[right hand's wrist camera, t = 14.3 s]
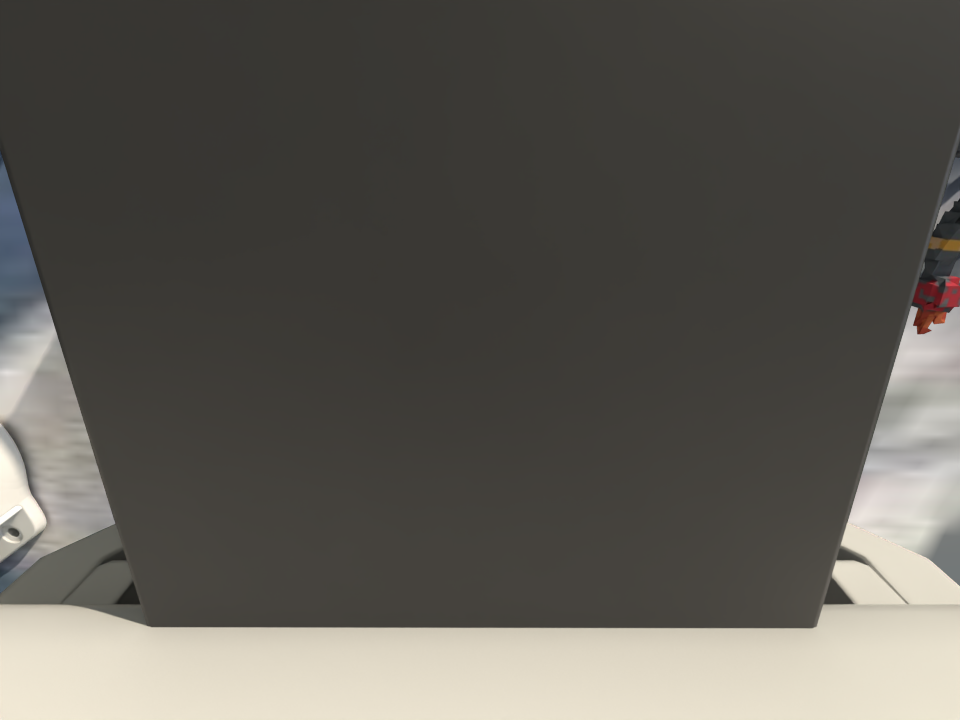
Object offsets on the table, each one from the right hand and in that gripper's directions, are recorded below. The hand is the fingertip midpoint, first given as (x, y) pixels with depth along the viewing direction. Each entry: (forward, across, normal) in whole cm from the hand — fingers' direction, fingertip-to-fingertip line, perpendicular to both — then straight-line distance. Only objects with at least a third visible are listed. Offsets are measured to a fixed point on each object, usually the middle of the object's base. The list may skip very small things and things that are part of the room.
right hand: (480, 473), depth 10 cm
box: (+7, 0, -7) cm, 10 cm away
